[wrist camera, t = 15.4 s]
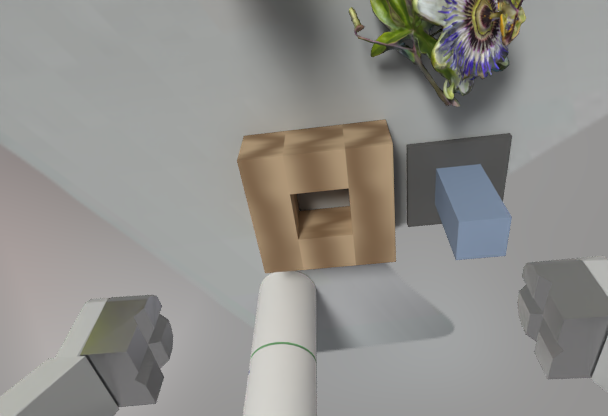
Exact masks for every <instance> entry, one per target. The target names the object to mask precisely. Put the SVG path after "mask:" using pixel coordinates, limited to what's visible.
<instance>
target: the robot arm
mask: <svg viewBox="0 0 608 416" xmlns="http://www.w3.org/2000/svg"><path fill="white" fill-rule="evenodd" d="M522 278H523V279H524V281H525V283H526V285H525V286H524V287H523V288H522V289H521V290H520V291H519V295H518V302H517V303H518V313H519V318H520V321H521V324H522V327H523V329H524V331H525V333H526V335H528V336H529V337H531V338H532V339H534V340H535V341H536V346H535V350H534V352H535V354H536V357H537V358H538V361H539V363H540V365H541V367H542V369H543V371H544V373H545V375H546V377H547V379H567V378H591V380H592V381H593V382H595V383H596V384H597V385H598V386H599V387H601V388H602V389H603V390H604V391H605V392H607V393H608V258H606V257H604V256H594V257H593V256H592V257H582V258H577V259H562V260H551V261H541V262H531V263H527V264H526V265H525V266H524V269H523V274H522ZM161 308H162V305H161V303H160V301H159V299H158V297H157V296H154V295H145V296H126V297H112V298H100V299H90V300H89V301H88V302H86V303H85V304H84V306H83V308H82V310H81V311H80V313H79V315H78V317H77V319H76V321H75V323H74V324H73V326H72V328H71V330H70V332H69V333H68V335H67V337H66V339H65V341H64V343H63V344H62V346H61V348H60V350H59V352H58V353H57V355H56V357H55V358H50V359H47V360H46V361H45V362H44V363H42V364H41V365H40V366H39V367H37V368H36V369H35V370H33V371H32V372H31V373H30V374H28V375H27V376H26V377H25V378H24V379H22V380H21V381H20V382H18V383H17V384H16V385H14V386H13V387H12V388H11V389H10V390H8V391H7V392H6V393H4V394H3V395H2V396H0V416H114V415H115V414H116V412H117V411H118V410H119V408H118V407H126V406H136V405H147V404H156V401H157V398H158V395H159V392H160V388H161V385H162V382H163V379H164V376H163V374H162V372H161V370H160V368H161V367H162V366H163V365H164V364H165V363H166V362H168V361H169V359H170V355H171V352H172V345H173V334H172V329H171V325H170V323H169V320H168V319H166V318H165V317H164V316H162V315H161V314H160V311H161Z"/></svg>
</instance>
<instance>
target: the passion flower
mask: <svg viewBox="0 0 608 416" xmlns="http://www.w3.org/2000/svg"><path fill="white" fill-rule="evenodd" d="M370 2H371V6H372V10H373V12H374V14H375V15H376V16H377V17H378V19H379V20H380V21H381V22H383V23H384V24H385V26H386V27H387V28H389V29H390V32H384V33H383V34H382V35H381V36H379V37H378V39H377V40H376V41H373V40H370V39H367V38H363V37H360V36H358V35H357V32H359V31H361V30H362V29H364V26H363V25H361V23H360V21H359V19H358V17H357V13H356V11H355V10H354V9H353V8H352V7H351V8H350V9H349V14H350V16H351V21H352V22H353V24H354V26H355V35H356V36H357V37H358V39H362V40H365V41H368V42H370V43H374V44H373V47H372V50H371V57H375V56H377V55H380V54H381V53H384V52H385V51H387V50H391V49H397V50H398V51H399V52H400V53H401V54H403V55H404V56H406V57H407V58H408V59H409V60H411V61H412V62H413V63H414V64H416V65H417V66H418V67H419V68H420V70H421V71H422V73H423V74H424V76H425V77H426V78H427V79H428V81H429V82H430V83H431V85H432V86H433V88H434V89H435V91H436V92H437V94H438V96H439V97H440V99H441V100H442V101H443V102H444V103H445V105H446V106H447V105H448V106H449V105H451V104H452V106H457V107H458V106H460V104H459V103H458V101H457V100H456V99H455V97H454V93H459V94H461V95H462V96H464V95H466V94H468V93H469V92H470V91H471V90H472V87H473V85H474V79H475V78H476V77H478V76H480V77H481V79H484V78H485V77H487V76H488V73H489V75H490V76H492V73H491V70H493V71H495V72H498V71H503V70H504V69H505V68H506V67H508V66H509V60H508V59H507V55H508V48H507V46H508V45H509V44H510V43H511V41H512V40H513V39H514V38H515V37H516V36H517V35H518V34H519V30H520V26H521V24H522V23H523V22H524V21H525V19H526V16H525V13H524V10H523V8H522V7H521V5H522V2H523V0H370ZM433 25H436V26H441V29H440V30H438V31H436V32H435V33H434V34H432V35H430V31H431V28H432V26H433ZM441 31H442V33H441V35H440V37H439V38H438V40H436V39H435V38H433V36H434V35H436V34H437V33H439V32H441ZM404 39H411V40H412V41H413V48H410V47H409V46H407V45H405V43H404V42H402V41H403V40H404ZM401 42H402V43H401ZM421 54H425V55H426V56H427V57H429V59H430V60H431V63H432V66H433V68H434V69H435V71H437V72H439V73H440V74H441V75H442V76H443V77H445V78H447V79H448V80H446V81H445V83H444V88H443V91H442V90H441V89H440V88H439V87H438V85H437V84H436V83H435V81H434V80H433V78H432V77H431V75H430V74H429V73H428V71H427V70H426V68H425V67H424V65H423V64H422V61H421ZM448 81H449V83H450V87H447V82H448Z"/></svg>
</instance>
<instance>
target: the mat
mask: <svg viewBox="0 0 608 416" xmlns="http://www.w3.org/2000/svg"><path fill="white" fill-rule="evenodd" d="M511 139H512V136H511V134H510V133H508V134H499V135H490V136H481V137H472V138H463V139H454V140H445V141H436V142H427V143H418V144H409V145H407V225H408V227H411V226H423V225H433V224H442V222H441V219H440V216H439V214H438V211H437V208H436V206H435V187H436V169H437V168H447V167H457V166H467V165H476V164H481V166H482V167H483V169H484V171H485V173H486V174H487V176H488V178H489V179H490V181H491V183H492V184H493V186H494V188H495V190H496V191H497V193H498V195H499V196H500V198H501V200H502V201H503V196H504V189H505V182H506V175H507V168H508V160H509V153H510V146H511Z"/></svg>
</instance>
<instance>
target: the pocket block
mask: <svg viewBox="0 0 608 416" xmlns="http://www.w3.org/2000/svg"><path fill="white" fill-rule="evenodd" d="M237 163H238V167H239V171H240V175H241V179H242V183H243V187H244V191H245V194H246V198H247V202H248V206H249V210H250V214H251V218H252V222H253V226H254V230H255V234H256V238H257V242H258V246H259V250H260V254H261V258H262V262H263V266H264V270H265V273H274V272H285V271H296V270H308V269H319V268H330V267H342V266H353V265H365V264H376V263H387V262H396V247H395V209H394V171H393V143H392V139H391V136H390V133H389V129H388V126H387V123H386V120H377V121H369V122H360V123H351V124H343V125H334V126H326V127H317V128H308V129H300V130H291V131H282V132H274V133H265V134H257V135H248V136H244V137H243V141H242V145H241V148H240V152H239V156H238V159H237ZM347 188H348V191H349V202H350V206H345V207H335V208H325V209H315V210H305V211H299V206H298V200H297V194H299V193H308V192H318V191H328V190H337V189H347Z"/></svg>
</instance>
